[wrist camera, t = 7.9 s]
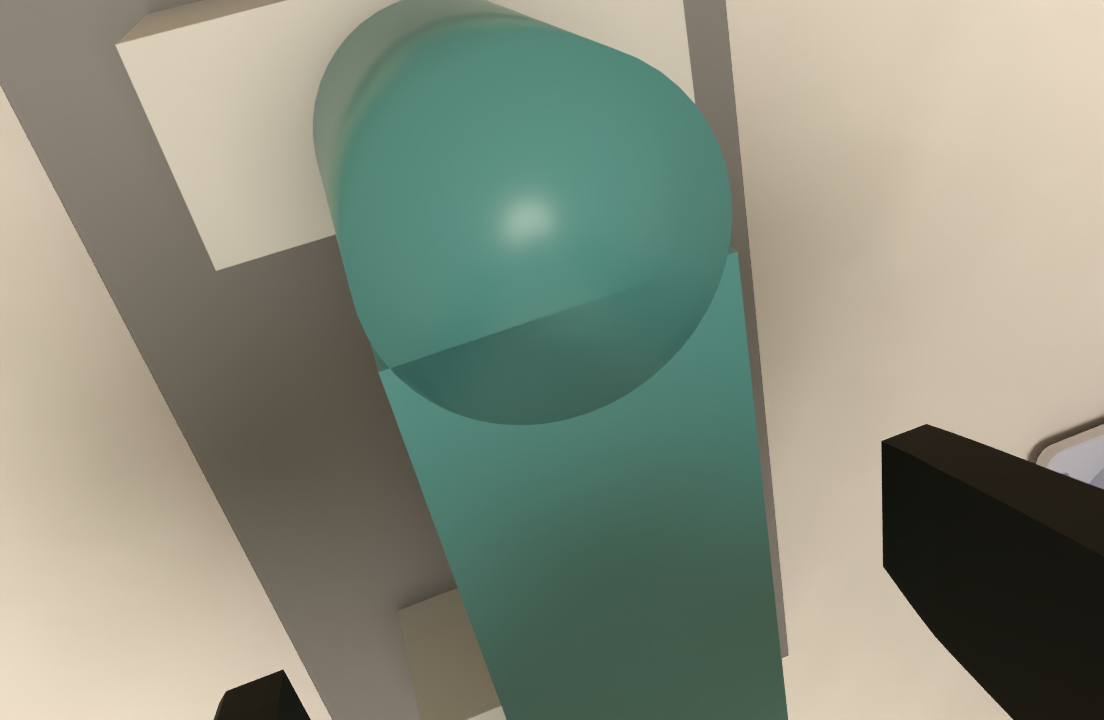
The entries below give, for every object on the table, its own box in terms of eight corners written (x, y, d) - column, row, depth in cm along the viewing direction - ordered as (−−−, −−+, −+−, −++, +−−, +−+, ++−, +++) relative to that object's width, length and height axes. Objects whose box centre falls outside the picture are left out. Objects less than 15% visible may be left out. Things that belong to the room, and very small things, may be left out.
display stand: (757, 612, 22) (863, 759, 18) (378, 766, 20) (406, 963, 17) (638, -390, 12) (819, -532, 8) (-127, -238, 10) (-347, -325, 7)
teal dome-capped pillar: (692, 718, 16) (811, 936, 13) (539, 783, 15) (620, 1028, 12) (544, -39, 9) (710, -10, 6) (270, 35, 9) (282, 109, 6)
